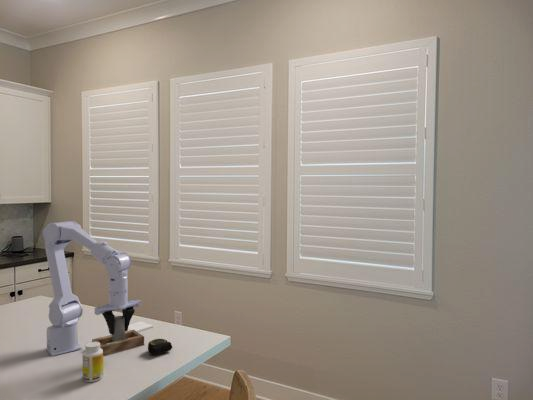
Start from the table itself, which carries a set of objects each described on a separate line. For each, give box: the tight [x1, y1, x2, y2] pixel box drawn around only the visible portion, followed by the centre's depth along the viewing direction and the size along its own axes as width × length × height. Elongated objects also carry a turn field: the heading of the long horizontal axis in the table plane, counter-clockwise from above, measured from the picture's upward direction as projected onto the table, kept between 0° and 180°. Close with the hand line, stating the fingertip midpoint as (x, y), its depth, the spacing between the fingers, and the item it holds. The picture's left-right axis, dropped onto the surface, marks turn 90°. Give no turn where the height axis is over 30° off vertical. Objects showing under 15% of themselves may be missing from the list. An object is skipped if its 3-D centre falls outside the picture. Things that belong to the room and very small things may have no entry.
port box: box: [91, 330, 145, 357], centre depth 142 cm, size 15×9×3 cm, turn 131°
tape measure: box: [147, 338, 173, 356], centre depth 138 cm, size 7×7×4 cm
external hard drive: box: [125, 320, 154, 333], centre depth 159 cm, size 2×8×12 cm
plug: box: [112, 315, 125, 341], centre depth 132 cm, size 4×4×7 cm
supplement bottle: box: [82, 341, 104, 383], centre depth 119 cm, size 6×6×10 cm
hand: (118, 331), depth 132 cm, fingers closed on plug, 4 cm apart
